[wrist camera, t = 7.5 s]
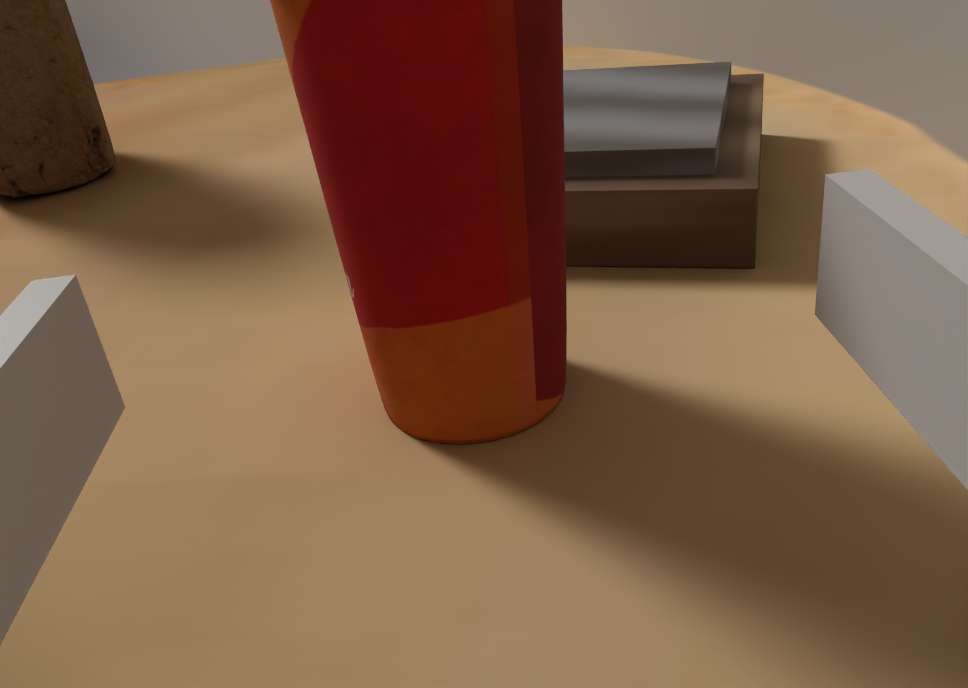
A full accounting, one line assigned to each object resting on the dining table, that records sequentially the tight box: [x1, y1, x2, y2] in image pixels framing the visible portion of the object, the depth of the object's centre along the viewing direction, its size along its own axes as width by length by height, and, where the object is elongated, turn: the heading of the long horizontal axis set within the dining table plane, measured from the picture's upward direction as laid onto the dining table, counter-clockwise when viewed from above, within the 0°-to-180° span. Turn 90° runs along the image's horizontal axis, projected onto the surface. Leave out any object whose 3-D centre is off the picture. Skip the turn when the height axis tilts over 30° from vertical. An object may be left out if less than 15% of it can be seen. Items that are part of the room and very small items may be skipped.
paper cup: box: [270, 0, 567, 444], centre depth 24 cm, size 8×8×14 cm
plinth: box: [563, 62, 764, 268], centre depth 40 cm, size 16×16×4 cm
